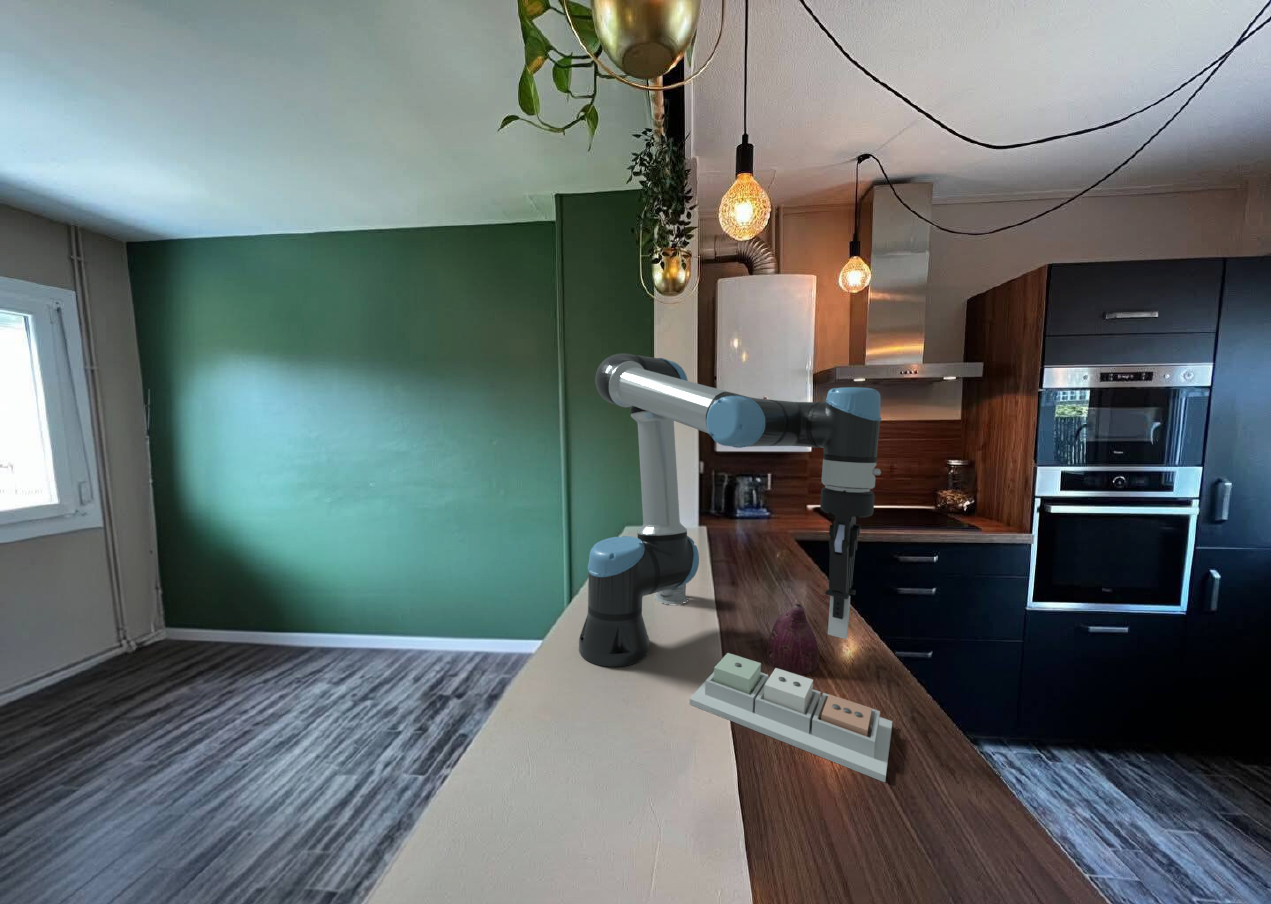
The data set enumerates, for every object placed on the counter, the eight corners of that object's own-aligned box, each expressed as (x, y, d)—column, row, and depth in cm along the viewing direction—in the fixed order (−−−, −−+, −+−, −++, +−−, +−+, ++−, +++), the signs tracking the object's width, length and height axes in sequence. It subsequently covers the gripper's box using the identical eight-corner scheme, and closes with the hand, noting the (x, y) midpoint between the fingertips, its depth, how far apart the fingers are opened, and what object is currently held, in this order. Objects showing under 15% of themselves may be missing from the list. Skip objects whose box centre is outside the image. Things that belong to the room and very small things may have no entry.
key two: (763, 702, 75) (764, 683, 75) (774, 684, 80) (775, 666, 80) (803, 716, 71) (804, 697, 71) (812, 696, 77) (813, 678, 77)
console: (689, 704, 78) (690, 684, 78) (720, 668, 90) (721, 651, 90) (885, 782, 62) (886, 758, 62) (891, 727, 74) (893, 706, 73)
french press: (651, 592, 130) (653, 507, 129) (690, 591, 132) (693, 507, 130) (656, 605, 121) (659, 514, 119) (698, 605, 122) (701, 514, 120)
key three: (820, 732, 70) (821, 713, 70) (828, 711, 75) (829, 693, 75) (866, 749, 67) (867, 729, 66) (870, 726, 72) (871, 707, 72)
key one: (713, 683, 80) (714, 666, 80) (727, 668, 85) (727, 651, 85) (748, 696, 76) (749, 678, 76) (760, 679, 82) (761, 662, 81)
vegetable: (818, 690, 89) (837, 629, 84) (765, 677, 91) (781, 616, 86) (811, 653, 99) (828, 596, 94) (763, 641, 101) (777, 585, 96)
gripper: (870, 496, 62) (858, 660, 64) (878, 486, 73) (868, 626, 75) (813, 490, 66) (803, 644, 68) (829, 481, 77) (820, 614, 79)
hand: (837, 634), depth 71 cm, fingers closed
